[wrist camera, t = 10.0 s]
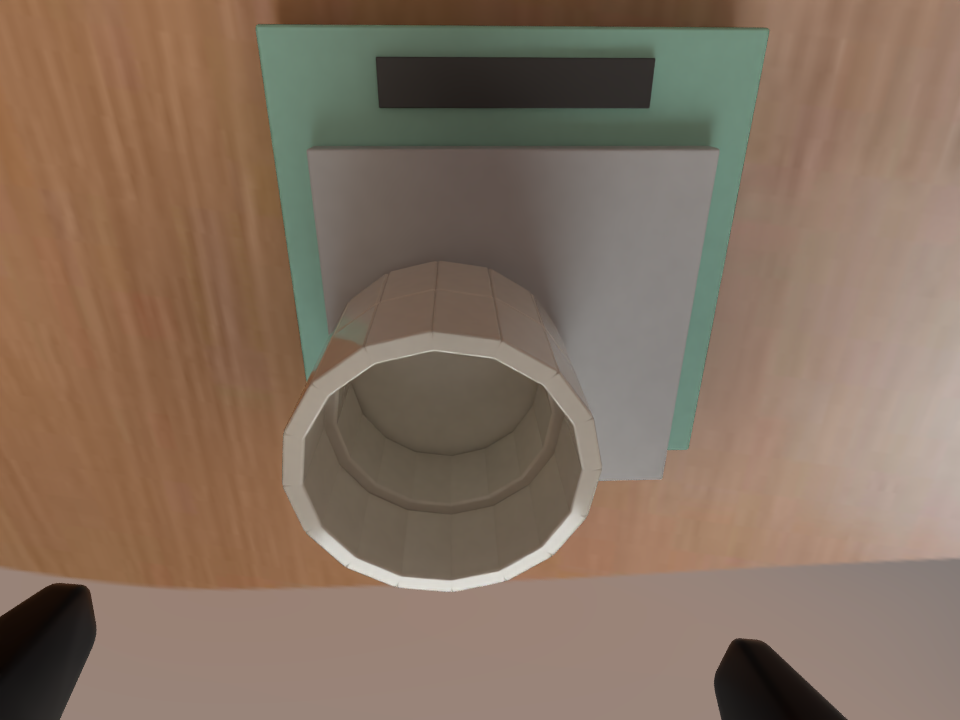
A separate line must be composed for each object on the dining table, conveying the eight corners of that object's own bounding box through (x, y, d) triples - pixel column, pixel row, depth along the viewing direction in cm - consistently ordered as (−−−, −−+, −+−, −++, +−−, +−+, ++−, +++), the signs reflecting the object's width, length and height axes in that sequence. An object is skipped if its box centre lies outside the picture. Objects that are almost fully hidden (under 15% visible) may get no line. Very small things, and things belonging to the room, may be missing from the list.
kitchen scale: (666, 434, 19) (692, 479, 17) (330, 440, 19) (314, 488, 17) (735, 32, 14) (786, 25, 12) (277, 29, 14) (244, 21, 12)
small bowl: (535, 472, 17) (561, 603, 13) (324, 449, 16) (279, 578, 12) (584, 275, 14) (638, 357, 10) (336, 237, 14) (284, 310, 10)
